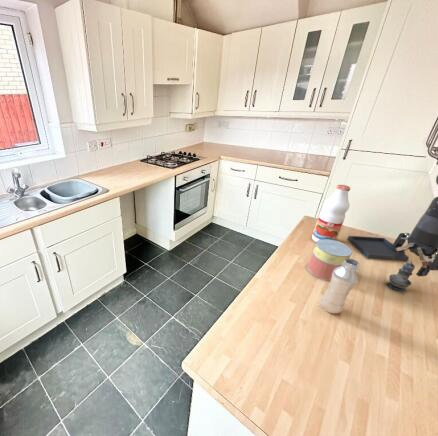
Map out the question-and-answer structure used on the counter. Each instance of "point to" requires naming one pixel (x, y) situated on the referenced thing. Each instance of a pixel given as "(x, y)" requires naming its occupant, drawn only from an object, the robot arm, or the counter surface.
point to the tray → (375, 247)
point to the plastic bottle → (340, 286)
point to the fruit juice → (332, 215)
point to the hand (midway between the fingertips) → (407, 267)
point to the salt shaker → (401, 278)
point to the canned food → (328, 258)
